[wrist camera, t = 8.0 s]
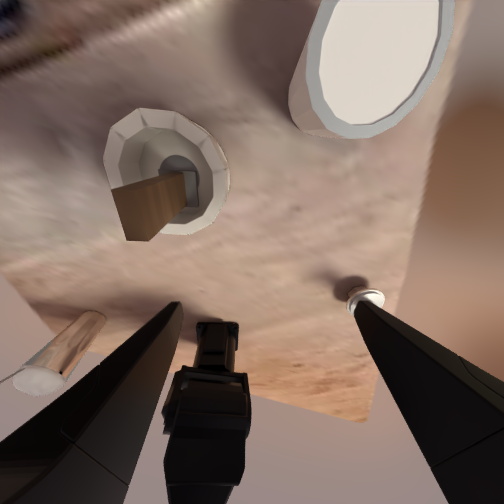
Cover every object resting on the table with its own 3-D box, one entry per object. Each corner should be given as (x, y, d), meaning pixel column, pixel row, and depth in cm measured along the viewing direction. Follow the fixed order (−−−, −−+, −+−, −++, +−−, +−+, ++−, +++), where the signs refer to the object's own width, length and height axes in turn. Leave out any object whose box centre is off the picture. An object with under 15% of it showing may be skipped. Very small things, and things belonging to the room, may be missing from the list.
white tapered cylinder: (272, 136, 16) (289, 127, 10) (292, 21, 12) (339, -103, 6) (344, 150, 17) (402, 149, 10) (381, 45, 13) (498, -45, 7)
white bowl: (229, 224, 20) (226, 237, 17) (143, 219, 19) (123, 232, 16) (230, 122, 15) (227, 114, 12) (117, 111, 14) (82, 100, 11)
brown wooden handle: (196, 171, 16) (156, 188, 9) (199, 205, 18) (166, 245, 10) (160, 168, 16) (88, 183, 9) (166, 204, 18) (109, 242, 10)
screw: (348, 309, 27) (334, 291, 25) (379, 294, 26) (367, 273, 24) (422, 422, 16) (407, 405, 14) (484, 405, 15) (477, 383, 13)
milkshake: (97, 301, 24) (17, 383, 16) (117, 326, 27) (57, 409, 18) (66, 305, 25) (-31, 389, 16) (88, 329, 27) (16, 413, 19)
